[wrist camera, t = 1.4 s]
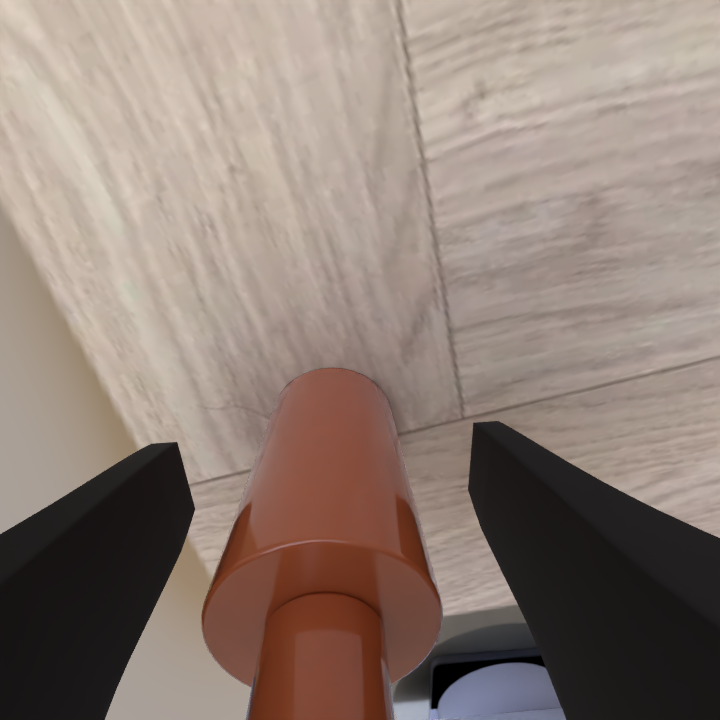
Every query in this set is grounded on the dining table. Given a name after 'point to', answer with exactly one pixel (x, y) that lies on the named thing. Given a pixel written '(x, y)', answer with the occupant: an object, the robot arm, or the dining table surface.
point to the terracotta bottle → (324, 561)
